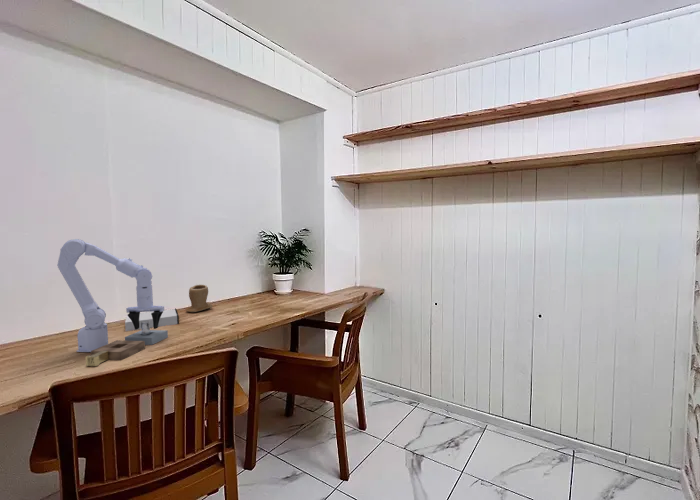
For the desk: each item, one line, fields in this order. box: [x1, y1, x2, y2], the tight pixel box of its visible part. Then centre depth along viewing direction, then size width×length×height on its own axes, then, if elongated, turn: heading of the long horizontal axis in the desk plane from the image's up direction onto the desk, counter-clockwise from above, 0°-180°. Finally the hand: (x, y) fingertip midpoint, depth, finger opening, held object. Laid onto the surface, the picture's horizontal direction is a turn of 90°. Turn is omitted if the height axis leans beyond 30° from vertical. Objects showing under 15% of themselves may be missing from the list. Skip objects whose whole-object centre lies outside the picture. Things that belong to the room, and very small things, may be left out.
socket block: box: [90, 339, 146, 361], centre depth 130 cm, size 12×12×3 cm
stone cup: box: [184, 284, 214, 313], centre depth 198 cm, size 15×12×15 cm
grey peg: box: [140, 322, 151, 335], centre depth 144 cm, size 3×3×8 cm
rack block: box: [124, 329, 169, 346], centre depth 145 cm, size 12×10×3 cm
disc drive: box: [124, 307, 180, 332], centre depth 172 cm, size 18×22×5 cm
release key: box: [85, 351, 109, 367], centre depth 121 cm, size 4×6×3 cm, turn 173°
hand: (146, 328), depth 144 cm, fingers open, 7 cm apart
